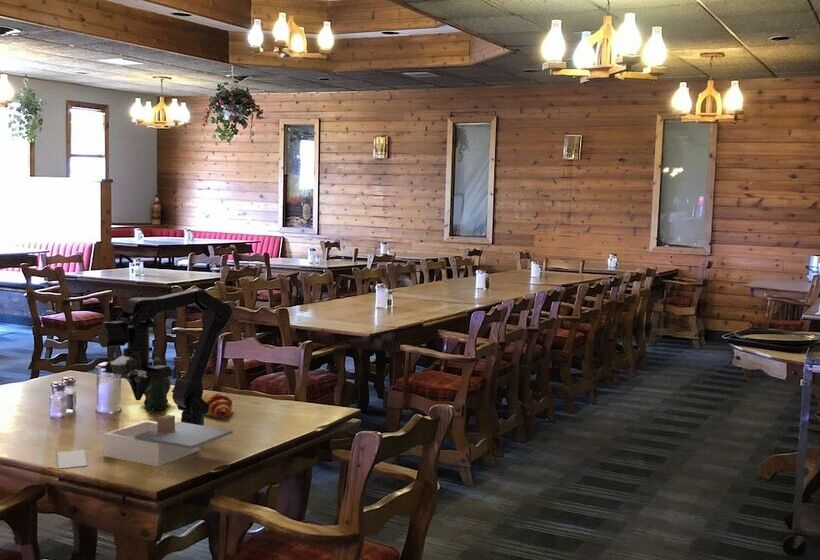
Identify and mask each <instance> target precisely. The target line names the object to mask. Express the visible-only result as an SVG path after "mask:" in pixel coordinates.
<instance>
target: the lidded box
mask: <svg viewBox="0 0 820 560" xmlns="http://www.w3.org/2000/svg"><path fill="white" fill-rule="evenodd" d="M154 429H157V421H154V420H153V421H151V420H147V419H146V420H143V421H140V422H136V423H133V424H129V425H127V426H124V427H121V428H117V429H115V430H111V431H108V432H105V433H103V457H107V458H112V459H117V460H122V461H126V462H133V463H139V464H143V465H149V466H155V467H161V466H163V465H166V464H168V463H171V462H174V461H176V460H179V459H181V458H184V457H186V456H188V455H191V454H194V453H196V452H198V451H199V447H196V448H193V449H188V448H182V447H177V446H171V445H166V444H160V443H155V442H149V441H143V440H138V439H135V436H136V435H139V434H142V433H145V432H148V431H151V430H154Z"/></svg>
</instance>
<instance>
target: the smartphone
mask: <svg viewBox="0 0 820 560" xmlns="http://www.w3.org/2000/svg"><path fill="white" fill-rule="evenodd" d="M56 460H57V462H56V464H57V469H59V470H63V469H74V468H75V469H77V468H86V467H88V466H89V465H88V464H89V463H88V459H87V453H86V450H85V449H76V450H65V451H62V450H61V451H57V452H56Z"/></svg>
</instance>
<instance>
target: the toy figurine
mask: <svg viewBox="0 0 820 560" xmlns="http://www.w3.org/2000/svg"><path fill="white" fill-rule="evenodd" d="M157 365H162V360H161V358H160V357H157V356H156V357H154V358H153V361H152V366H157ZM170 389H171V379H170V377H166V378H162V379H151V380H150V382H149V384H148V386H147V388H146V390H145V392H144V394H143V396H145V399H144V401H143V404H144V408H145V410H146V411H148V412H149V411H150V412H151V411H153V410H161V411H166V410H167V409H168V403H169V400H168V397H167V396H168V393H169V392H170Z"/></svg>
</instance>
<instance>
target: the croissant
mask: <svg viewBox="0 0 820 560" xmlns="http://www.w3.org/2000/svg"><path fill="white" fill-rule="evenodd" d="M202 399H203V400H204V401H205V402H206V403H207V404H208V405H209V410H208V413H204V416H210V417H214V418H219V419H221V418H225V417H228V416H229V415H230V413H231V412H232V405H233V401H232V399H231V398H230V397H229V396H228V395H227V394H223V393H220V392H219V393H217V392H216V393H210V394H206V395H204V396H202Z"/></svg>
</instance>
